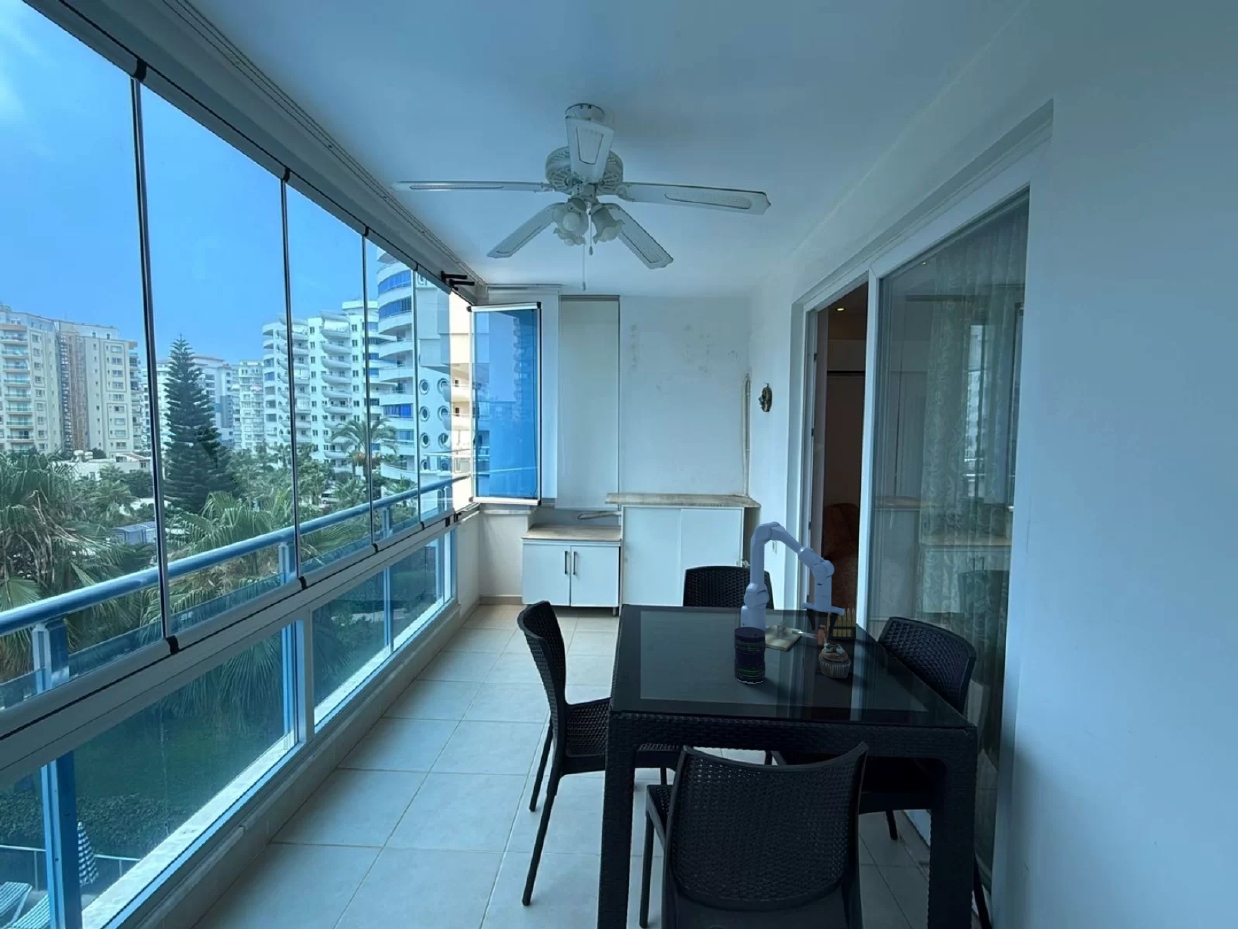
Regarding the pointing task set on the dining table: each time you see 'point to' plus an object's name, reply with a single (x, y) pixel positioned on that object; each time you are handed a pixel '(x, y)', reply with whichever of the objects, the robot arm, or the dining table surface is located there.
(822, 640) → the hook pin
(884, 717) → the dining table surface
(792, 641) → the eye bracket
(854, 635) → the ammunition clip
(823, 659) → the cupcake
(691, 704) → the dining table surface
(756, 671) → the storage jar
